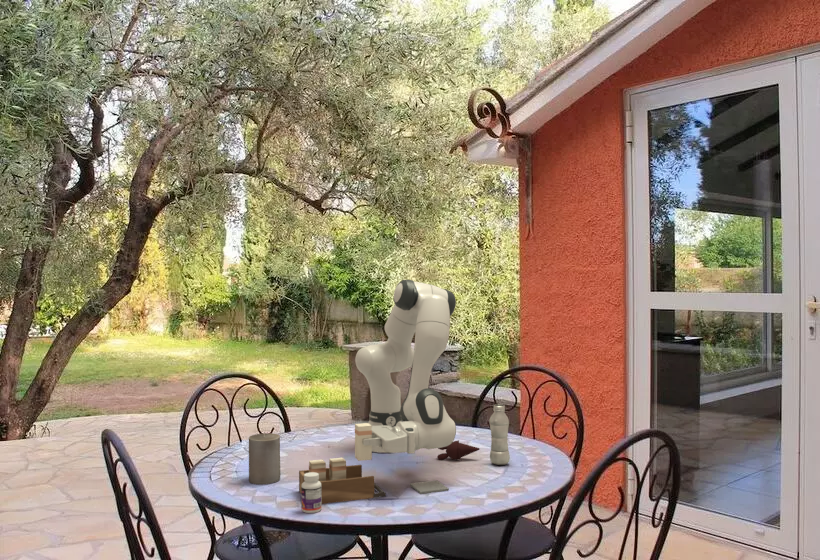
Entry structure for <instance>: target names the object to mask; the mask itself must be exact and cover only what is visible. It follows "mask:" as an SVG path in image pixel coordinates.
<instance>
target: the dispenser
mask: <svg viewBox="0 0 820 560" xmlns="http://www.w3.org/2000/svg"><path fill="white" fill-rule="evenodd" d="M328 460H329V463H328V464H329V465H328V467H326V463H327V462H326V461H324V459H314V460H313V459H312V460H308V469H306V470H305V469H304V470H303V469H302V470H298V490H299V491H298V492H299V493H300V495H301V496H302V494H301V487H302V483H303V482H305V480H304V474H306V473H310V472H316V473H318V474H319V480H318V481H320V482H321V495H322V505H324V504H325V505H326V504H333V503H341V502H349V501H351V502H352V501H358V500H359V501H361V500H368V499H375V498H376V499H377V498H383V497H386V496H387V495H386V494H387V493H386V492H385V491H384V490H383V489H382V488H381V487H380V486H379V485H378V484H377V483H375V475H368V476H363V465H362V464H353V465H347V460H346V459H345V458H344V457H335V458H329V459H328ZM375 490H376V491H377V492H375Z"/></svg>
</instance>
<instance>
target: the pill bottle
mask: <svg viewBox="0 0 820 560" xmlns="http://www.w3.org/2000/svg"><path fill="white" fill-rule="evenodd" d="M304 480H305V482H303V483H302V487H301V493H300V495H301V494H302V495H301V511H302V512H304V513H307V514H314V513H319V512H321V510H322V509H323V508H322V507H323V506H322V505H323V504H322V495H321V482H320V481H318V480H319V474H318V473H316V472H310V473H306V474H304Z"/></svg>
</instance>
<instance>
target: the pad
mask: <svg viewBox="0 0 820 560" xmlns="http://www.w3.org/2000/svg"><path fill="white" fill-rule="evenodd" d="M409 486H410V488H412V489H414V490H415V491H416V492H417V493H418V494H420V495H423V494H433V493H438V492H439V493H440V492H449V491H450V489H449V487H447V486H446V485H445V484H443V483H442V482H440V481H439V480H428V481H420V482H411V483H409ZM448 490H449V491H448Z"/></svg>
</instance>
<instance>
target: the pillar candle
mask: <svg viewBox="0 0 820 560" xmlns="http://www.w3.org/2000/svg"><path fill="white" fill-rule="evenodd" d="M280 480H281V436H280V435H279V434H278V433H269V432H263V433H257V434H252V435H250V436H249V437H248V482H249V483H250V484H253V485H262V486H263V485H270V484H273V483H277V482H279V481H280Z"/></svg>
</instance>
